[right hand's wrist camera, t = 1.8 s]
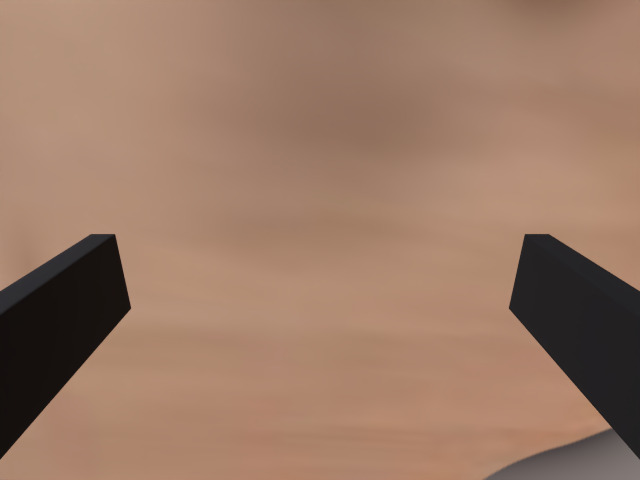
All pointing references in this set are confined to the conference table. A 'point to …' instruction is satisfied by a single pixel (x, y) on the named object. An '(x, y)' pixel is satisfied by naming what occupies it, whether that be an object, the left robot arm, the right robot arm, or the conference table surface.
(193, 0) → the conference table surface
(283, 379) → the conference table surface
